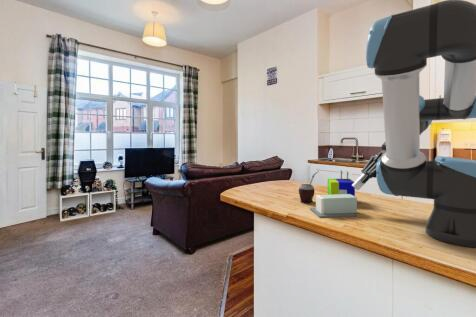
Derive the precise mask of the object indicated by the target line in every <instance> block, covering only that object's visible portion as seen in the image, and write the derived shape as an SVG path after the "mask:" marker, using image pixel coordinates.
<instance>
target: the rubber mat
mask: <svg viewBox="0 0 476 317" xmlns="http://www.w3.org/2000/svg"><path fill="white" fill-rule="evenodd" d="M309 210H310V211H311V212H312V213H314V214H315V215H316V216H317V217H318V218H320V219H321V218H340V217H341V218H345V217H348V218H349V217H356V216H357V213H332V214H321V213H320V212H318V211H317V210H316V207H309Z"/></svg>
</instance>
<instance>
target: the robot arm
mask: <svg viewBox="0 0 476 317" xmlns="http://www.w3.org/2000/svg"><path fill="white" fill-rule="evenodd" d="M440 56H441V58H442V59H443V60H444V81H443V84H444V85H443V97H439V98H430V99H429V98H427V99H425V98H424V96H422V95H420V74H421V72H422V71H423V70H424V69H425V68H426V67H427V66H428V64H427V63H428V61H427V60H428V59H429V58H435V57H440ZM365 60H366V66H367V68H369V69H374V76H376V77H377V78H379V79H380V80H381V92H382V104H383V105H382V106H383V122H384V124H383V125H384V134H385V135H384V138H385V141H384V143H383V144H381V150H380V151H379V152H378V153H377V154H372V155H371V156H370V158H369V159H368V161H367V162H366V163H365V165H364V166H363V167H362V169H361V170H360V171H361V175H360V176H358V177H357V179H356V180H355V181H353V182H354V183H353V184H352V186H353V187H354V188H355V191H359V190H360V189H361V188H362V187H363V186H364V185H365V184H366V183H367V182H368V181H369V180H370V179H372V178H374V179H375V178H376V182H377V186H378V188H379V190H380V191H381V193H383V194H385V195H389V196H391V195H392V196H395V197H406V198H407V197H408V198H409V197H410V198H419V199H428V200H433V207H432V211H431V212H430V215H429V217H428V219H427V221H426V223H425V233H426V235H428V236H429V237H430V238H433V239H436V240H437V241H441V242H443V243H447V244H452V245H456V246H462V247H468V248H476V160H475V159H468V158H462V157H461V158H460V157H453V156H442V155H439V156H437V155H436V156H435V158H434V160H427V158H426V157H427V156H426V155H425V153H423V152H422V151H421V150H420V147H421V146H420V144H421V143H420V142H421V141H420V136H421V135H422V133H424V132H425V131H427V129H428V128H429V126H430V125H431V124H432V122H433V121H443V120H444V121H447V120H448V121H450V120H469V119H476V4H475V3H472V1H471V2H470V1H467V0H441V1H439V2H436V3H433V4H429V5H426V6H421V7H418V8H414V9H410V10H406V11H403V12H399V13H395V14H391V15H388V16H386V17H383V18H380V19H378V20H376V21H374V22H373V23H372V25H371V26H370V28H369V31H368V36H367V40H366V52H365Z"/></svg>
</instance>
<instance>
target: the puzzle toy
mask: <svg viewBox="0 0 476 317" xmlns="http://www.w3.org/2000/svg"><path fill="white" fill-rule="evenodd" d="M354 182H355V181H354V180H352V179H351V178H327V195H335V194H351V195H353V196H355V195H356V189H355V188H354V187H353V186H352V184H353V183H354ZM355 197H356V196H355Z"/></svg>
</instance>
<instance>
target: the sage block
mask: <svg viewBox="0 0 476 317" xmlns="http://www.w3.org/2000/svg"><path fill="white" fill-rule="evenodd" d="M315 208H316V210H317V211H318V212H320V213H321V214H332V213H354V214H357V212H358V211H357V210H358V197H357V196H353V195H351V194H335V195H328V194H316V195H315Z"/></svg>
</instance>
